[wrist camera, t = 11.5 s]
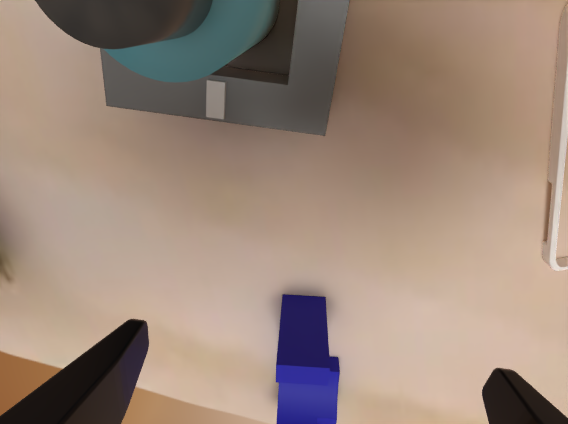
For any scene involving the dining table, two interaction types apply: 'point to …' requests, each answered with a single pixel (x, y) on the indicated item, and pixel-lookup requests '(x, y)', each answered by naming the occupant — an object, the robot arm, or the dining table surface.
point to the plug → (166, 32)
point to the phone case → (558, 147)
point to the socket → (250, 81)
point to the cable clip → (305, 363)
